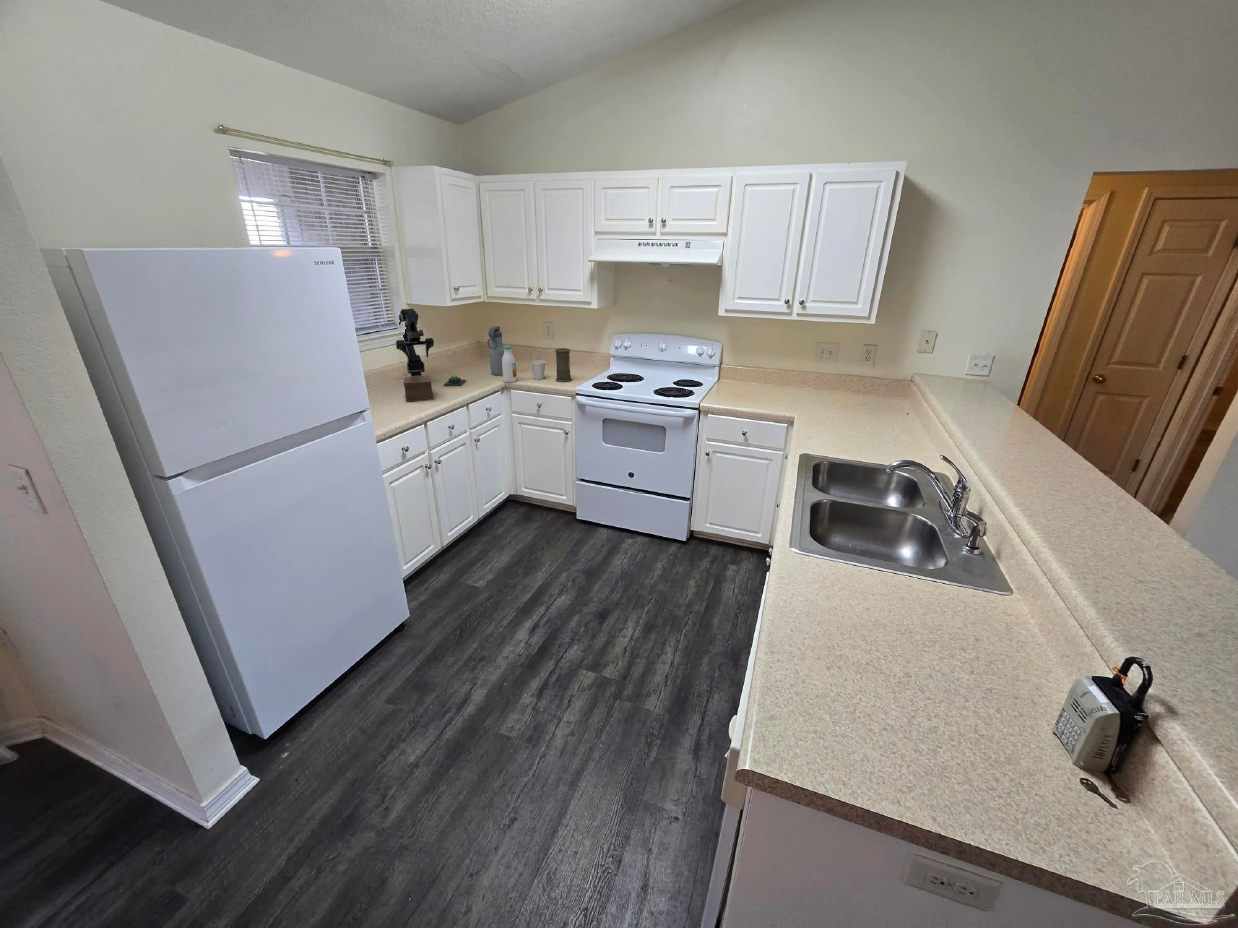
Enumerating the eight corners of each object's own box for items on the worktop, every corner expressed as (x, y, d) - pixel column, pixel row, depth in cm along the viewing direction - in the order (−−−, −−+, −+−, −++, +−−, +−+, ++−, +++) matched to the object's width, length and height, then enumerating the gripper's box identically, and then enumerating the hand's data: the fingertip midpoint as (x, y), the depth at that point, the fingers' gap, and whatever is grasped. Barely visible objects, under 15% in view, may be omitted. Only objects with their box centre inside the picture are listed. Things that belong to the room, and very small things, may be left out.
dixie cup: (549, 378, 304) (548, 361, 300) (538, 380, 298) (537, 363, 294) (539, 375, 309) (539, 359, 305) (529, 378, 303) (528, 361, 299)
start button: (452, 378, 290) (451, 375, 290) (458, 378, 290) (458, 375, 290) (450, 380, 287) (450, 377, 286) (456, 380, 287) (456, 377, 286)
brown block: (406, 395, 266) (403, 377, 263) (431, 393, 271) (429, 375, 267) (406, 402, 255) (403, 383, 251) (433, 399, 259) (430, 381, 255)
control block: (449, 381, 295) (449, 376, 293) (465, 381, 295) (464, 376, 294) (444, 386, 284) (443, 380, 283) (460, 386, 285) (459, 381, 283)
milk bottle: (509, 383, 291) (506, 348, 284) (500, 381, 296) (497, 346, 288) (519, 380, 297) (517, 346, 289) (510, 378, 301) (508, 344, 294)
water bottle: (501, 376, 307) (497, 328, 296) (487, 374, 310) (483, 327, 299) (510, 372, 316) (507, 326, 305) (497, 371, 319) (493, 325, 308)
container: (559, 382, 293) (558, 351, 286) (553, 379, 300) (552, 348, 293) (573, 381, 297) (572, 350, 290) (568, 377, 304) (566, 347, 297)
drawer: (407, 389, 274) (404, 375, 271) (429, 387, 278) (427, 373, 275) (407, 397, 260) (405, 382, 257) (431, 395, 264) (429, 380, 261)
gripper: (393, 325, 260) (399, 353, 258) (431, 323, 269) (438, 350, 267) (393, 334, 270) (399, 362, 268) (430, 332, 279) (436, 359, 277)
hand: (418, 358), depth 270 cm, fingers open, 9 cm apart
